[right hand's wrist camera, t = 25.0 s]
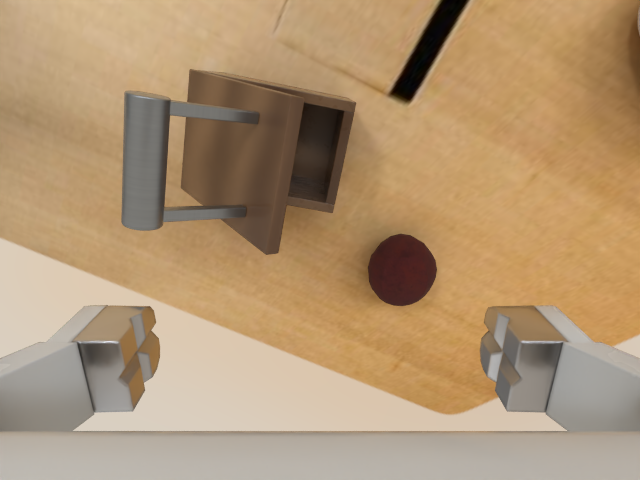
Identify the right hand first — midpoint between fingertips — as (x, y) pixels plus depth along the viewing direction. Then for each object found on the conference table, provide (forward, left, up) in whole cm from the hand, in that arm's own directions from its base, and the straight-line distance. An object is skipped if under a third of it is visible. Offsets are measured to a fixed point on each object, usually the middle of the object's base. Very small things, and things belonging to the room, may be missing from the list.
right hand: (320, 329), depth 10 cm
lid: (+6, -1, -21) cm, 22 cm away
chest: (+4, -1, -36) cm, 36 cm away
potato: (-9, +14, -36) cm, 39 cm away
